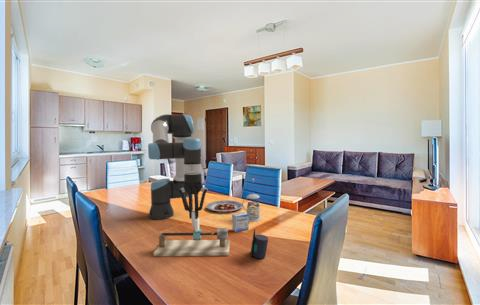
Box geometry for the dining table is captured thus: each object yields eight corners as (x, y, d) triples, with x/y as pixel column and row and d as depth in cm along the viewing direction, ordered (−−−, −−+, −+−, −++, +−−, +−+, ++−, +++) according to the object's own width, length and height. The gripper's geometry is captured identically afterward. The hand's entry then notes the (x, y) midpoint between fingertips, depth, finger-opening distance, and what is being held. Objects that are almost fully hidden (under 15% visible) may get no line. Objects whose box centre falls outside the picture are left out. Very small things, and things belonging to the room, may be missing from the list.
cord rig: (153, 256, 102) (152, 236, 101) (162, 243, 114) (162, 225, 113) (228, 255, 102) (228, 235, 101) (229, 242, 114) (229, 224, 113)
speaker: (246, 256, 100) (248, 232, 99) (250, 251, 105) (253, 228, 105) (263, 262, 97) (266, 237, 96) (267, 256, 102) (270, 232, 102)
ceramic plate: (248, 212, 160) (248, 207, 160) (209, 216, 153) (209, 211, 152) (237, 202, 185) (237, 198, 184) (204, 205, 177) (204, 201, 177)
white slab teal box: (193, 240, 105) (192, 220, 105) (195, 236, 110) (194, 217, 109) (199, 240, 105) (199, 220, 105) (201, 236, 110) (201, 217, 109)
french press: (260, 222, 141) (260, 180, 139) (241, 220, 143) (240, 179, 141) (262, 216, 150) (262, 177, 148) (244, 215, 153) (243, 176, 151)
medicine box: (235, 232, 126) (235, 216, 125) (232, 229, 130) (231, 214, 129) (248, 229, 130) (248, 214, 129) (244, 226, 133) (244, 211, 133)
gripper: (175, 174, 102) (177, 228, 103) (206, 174, 101) (207, 228, 103) (180, 172, 109) (181, 222, 111) (208, 171, 109) (209, 222, 111)
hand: (194, 225), depth 107 cm, fingers closed
